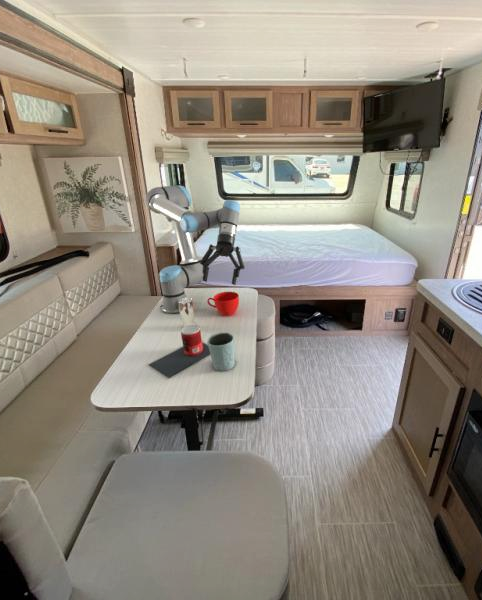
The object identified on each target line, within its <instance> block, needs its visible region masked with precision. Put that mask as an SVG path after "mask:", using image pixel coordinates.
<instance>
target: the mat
mask: <svg viewBox="0 0 482 600" xmlns="http://www.w3.org/2000/svg"><path fill="white" fill-rule="evenodd" d="M202 346H203V350H202V352H201V353H200V354H198V355H196V356H187V355H186V354H185V353H184V348H183V346H182V347H180V348H178V349H176V350H174V351H173V352H171V353H168V354H166V355H164V356H163V357H160V358H159V359H157V360H154V361H152V362H151V363H149V364H148V365H149V366H150V367H151V368H152V369H155V370H156V371H158V372H159V373H160V374H162V375H163V376H165V377H166V378H168V379H170V378H171V377H173V376H175V375H177V374H179V373H180V372H182V371H184V370H186V369H187V368H189V367H190V366H192V365H194V364H196V363H198V362H199V361H201V360H203V359H204V358H206V357H208V356H211V354H210V350H209V347H208V344H207V343H204V342H202Z"/></svg>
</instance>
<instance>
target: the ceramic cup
mask: <svg viewBox="0 0 482 600" xmlns="http://www.w3.org/2000/svg"><path fill="white" fill-rule="evenodd" d="M210 300H211V301H213V302H214V304H212V303H211V302H210ZM206 301H207V304H208V305H209V306H211V307H212V308H214V309H216V310H217V311H218V313H219V314H221V315H222V316H224V317H230V316H233V315H235V313H236V312H237V310H238V308H239V303H240V296H239V294H238V292H235V291H222V292H219V293H216V294H214V295H213V297H208V298H207V300H206Z"/></svg>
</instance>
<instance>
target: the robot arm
mask: <svg viewBox="0 0 482 600" xmlns="http://www.w3.org/2000/svg"><path fill="white" fill-rule="evenodd" d="M145 205H146V206H147V208H148V209H149V210H150V211H151V212H152V213H154V214H161V215H163V216H164V217H166V218H168V219H169V220H171V221H172V225H173V226H172V227H173V230H174V234H175V237H176V241H177V245H178V249H179V254H180V258H181V260H180V262H179V265H177V264H173V265H168V266H166V267H163V268H162V269H160V271H159V282H160V287H161V292H162V304H161V305H160V308H161V311H162V312H163V313H165V314H180V311H179V302H178V301H179V300H180V299H182V298H188V297H187V295H186V293H185V288H188V287H191V286H195V285H198V284H201V283H203V282H205V283H208V282H207V281H208V277H209V273H210V267H209V266H210V265H211V264H212V263H213V262H214V261H215V260H217V258H219V257H221V258H222V257H225V258H229V259H230V261H231V263H232V264H233V265H234V267H235V268H233V273H232V280H231V285H233V286H236V285H237V278H239V277H240V272H241V270H245V269H246V267H245V263H244V261H243V258H242V255H241V247H240V246H235V241H236V236H237V228H238V224H239V218H240V214H241V213H240V210H241V204H240V203H239V202H237V201H236V200H232V199H226V200H225V201H224V202H223V204H222V208H219V209H216V210H211V211H210V210H209V211H205V212H198V213H195V212H193V211H192V210H190V207H191V205H192V197H191V194H190V192H189V190H188V189H187V188H186V187H185V186H184V185H177V184H176V185H167V186H157V187H153V188H151V189H150V190H149V191H148V192H147V193H146V195H145ZM218 228H219V229H218ZM211 229H218V235H217V238H216V239H217V240H216V245H213V244H209V246H208V249H207V251H206V252H205V254H204V255H203V257H202V258H200V257H198V255H197V249H196V245H195V241H194V237H193V233H196V232H200V231H201V232H202V231H206V230H211ZM233 252H235V254H236V259H237V260H236V259H235V257H234V255H233ZM237 261H238V262H237Z"/></svg>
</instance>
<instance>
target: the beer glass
mask: <svg viewBox="0 0 482 600" xmlns="http://www.w3.org/2000/svg"><path fill="white" fill-rule="evenodd" d="M178 302H179V311H180V312H179V314H180V317H181V320H182V323H183V327H185V326H188V325H196V322H195V304H194V301H193V298H192V297H187V298H182V299H180V300H179V301H178ZM183 327H182V328H183Z"/></svg>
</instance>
